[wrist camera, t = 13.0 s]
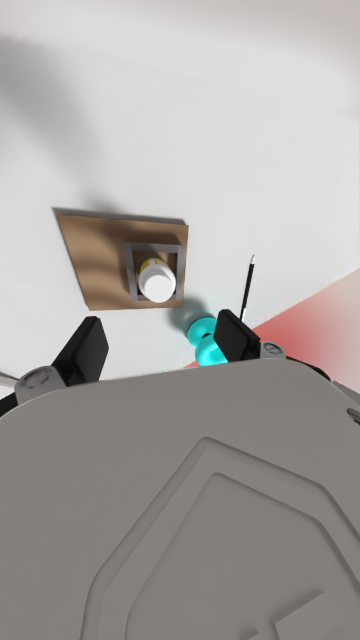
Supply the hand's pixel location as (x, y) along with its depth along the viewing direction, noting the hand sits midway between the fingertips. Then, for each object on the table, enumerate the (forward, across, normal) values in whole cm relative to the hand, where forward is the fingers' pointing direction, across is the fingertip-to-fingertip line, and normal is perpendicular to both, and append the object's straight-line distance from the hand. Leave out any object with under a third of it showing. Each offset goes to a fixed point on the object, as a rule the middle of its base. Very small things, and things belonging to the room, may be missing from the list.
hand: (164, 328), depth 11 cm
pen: (+21, -24, +6) cm, 32 cm away
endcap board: (+20, +4, 0) cm, 21 cm away
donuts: (+20, -13, +16) cm, 29 cm away
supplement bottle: (+19, 0, 0) cm, 19 cm away
